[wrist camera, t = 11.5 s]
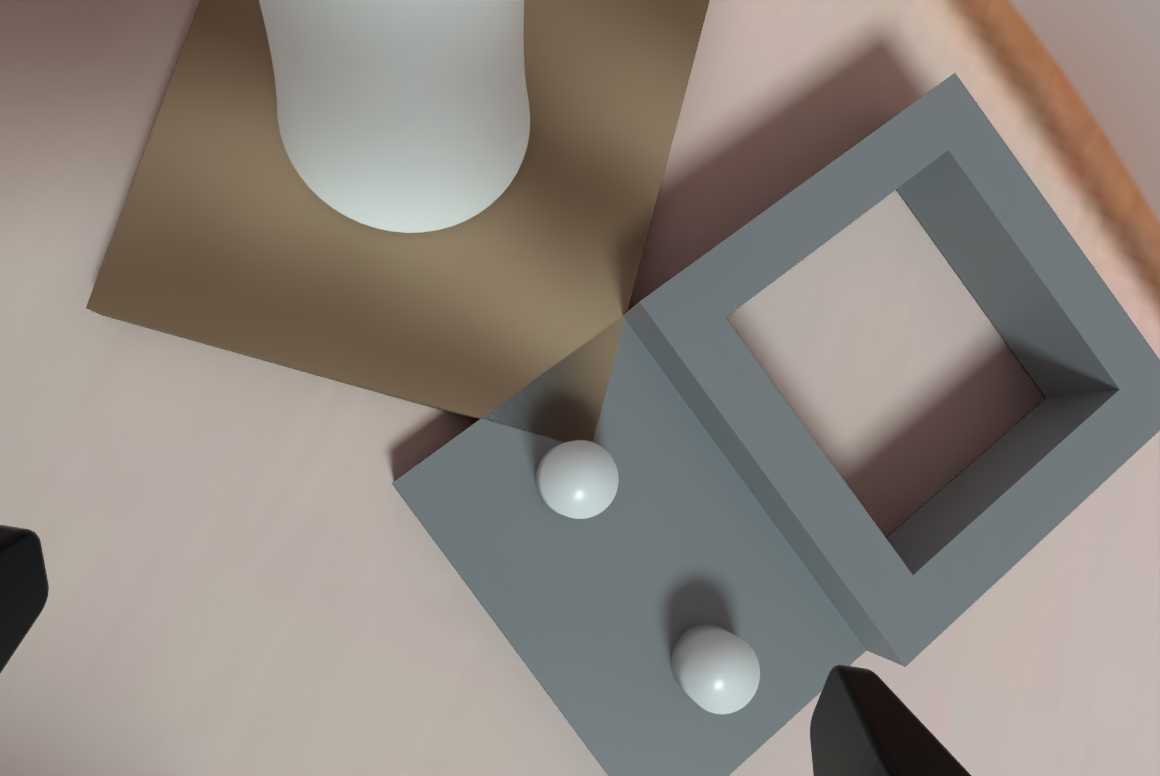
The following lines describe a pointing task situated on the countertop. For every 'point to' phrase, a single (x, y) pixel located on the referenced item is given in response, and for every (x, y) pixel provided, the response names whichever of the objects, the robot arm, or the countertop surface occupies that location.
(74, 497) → the countertop surface
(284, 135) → the cosmetic bottle
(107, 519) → the countertop surface
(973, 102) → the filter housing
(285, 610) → the countertop surface
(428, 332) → the walnut pad
